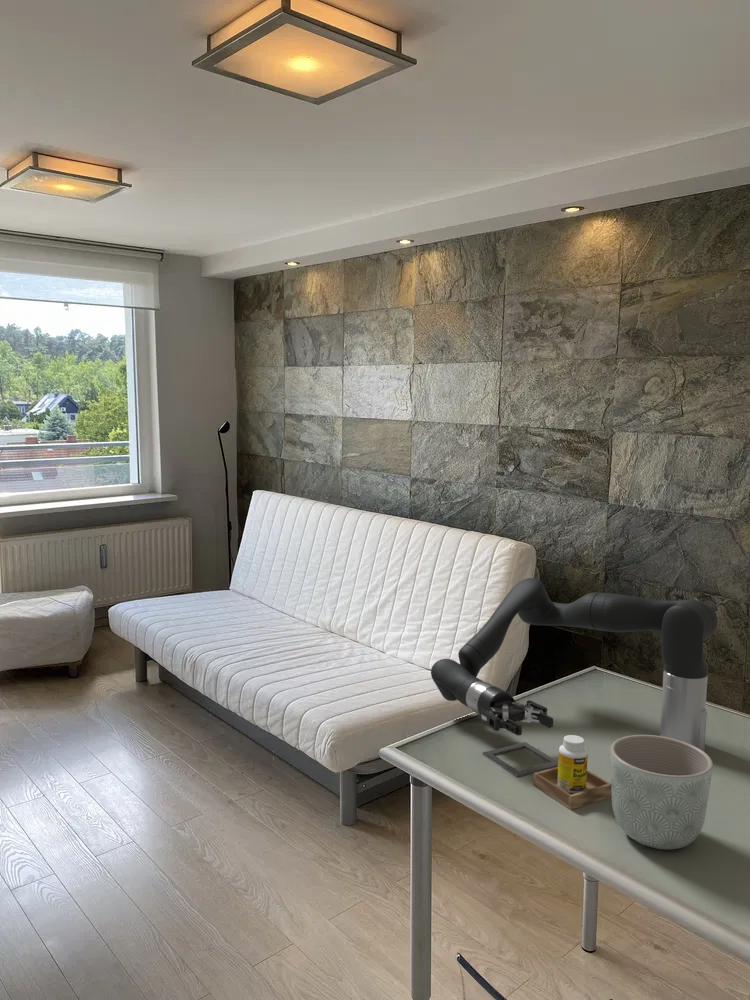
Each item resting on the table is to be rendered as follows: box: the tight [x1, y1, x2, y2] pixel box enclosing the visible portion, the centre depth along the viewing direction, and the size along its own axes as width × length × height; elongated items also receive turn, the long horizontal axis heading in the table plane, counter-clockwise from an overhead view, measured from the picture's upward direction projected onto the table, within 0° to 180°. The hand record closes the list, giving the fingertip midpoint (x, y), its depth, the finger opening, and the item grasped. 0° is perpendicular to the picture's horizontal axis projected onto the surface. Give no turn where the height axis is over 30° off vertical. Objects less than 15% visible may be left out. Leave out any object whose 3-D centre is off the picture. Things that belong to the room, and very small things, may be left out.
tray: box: [532, 766, 612, 810], centre depth 152 cm, size 11×11×3 cm
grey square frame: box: [482, 741, 558, 778], centre depth 166 cm, size 12×12×1 cm
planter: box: [609, 734, 714, 851], centre depth 136 cm, size 17×17×15 cm
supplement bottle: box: [557, 734, 589, 794], centre depth 152 cm, size 6×6×10 cm
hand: (536, 727), depth 161 cm, fingers open, 8 cm apart
